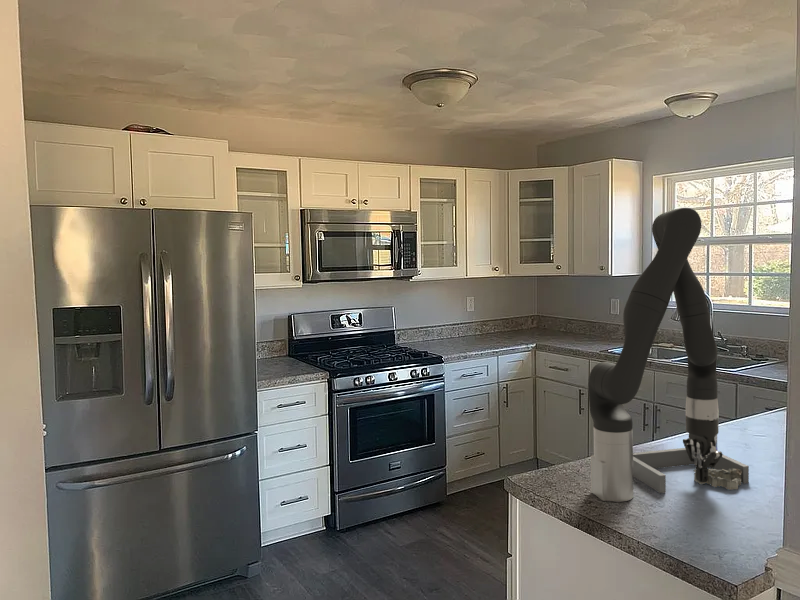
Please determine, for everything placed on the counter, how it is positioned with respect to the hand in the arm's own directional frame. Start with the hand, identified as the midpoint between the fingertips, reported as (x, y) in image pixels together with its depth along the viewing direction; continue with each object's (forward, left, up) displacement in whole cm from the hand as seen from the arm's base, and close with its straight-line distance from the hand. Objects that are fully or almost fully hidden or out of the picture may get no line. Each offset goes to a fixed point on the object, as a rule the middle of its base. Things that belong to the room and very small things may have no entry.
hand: (701, 481), depth 158 cm
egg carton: (+5, +1, -2) cm, 6 cm away
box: (0, +7, -2) cm, 7 cm away
